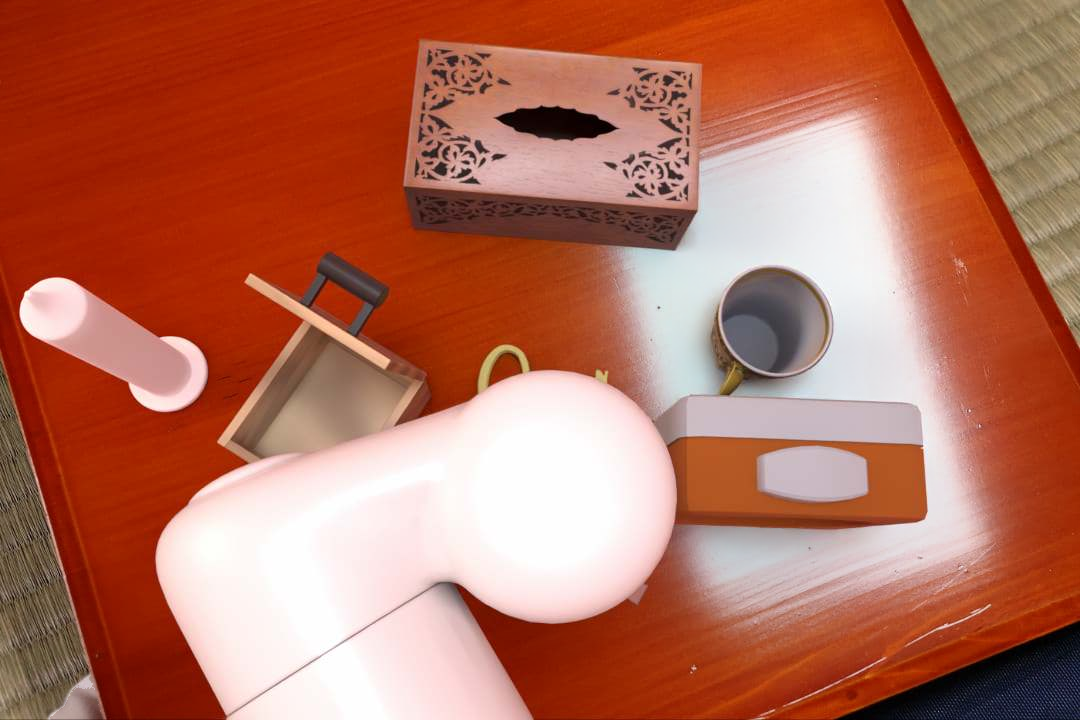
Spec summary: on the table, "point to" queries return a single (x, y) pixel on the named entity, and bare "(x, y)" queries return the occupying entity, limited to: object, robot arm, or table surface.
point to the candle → (115, 344)
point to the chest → (320, 400)
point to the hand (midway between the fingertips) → (523, 528)
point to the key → (493, 356)
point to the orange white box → (795, 462)
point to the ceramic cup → (770, 326)
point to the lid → (348, 335)
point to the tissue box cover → (553, 145)
